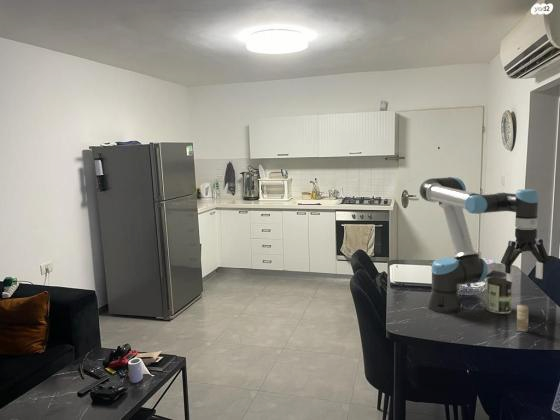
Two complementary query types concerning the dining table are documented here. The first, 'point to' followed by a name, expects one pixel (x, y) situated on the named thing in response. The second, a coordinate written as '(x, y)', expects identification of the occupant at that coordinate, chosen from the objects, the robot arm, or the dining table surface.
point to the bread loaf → (522, 318)
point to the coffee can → (499, 295)
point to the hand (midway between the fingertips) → (524, 279)
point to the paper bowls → (489, 264)
